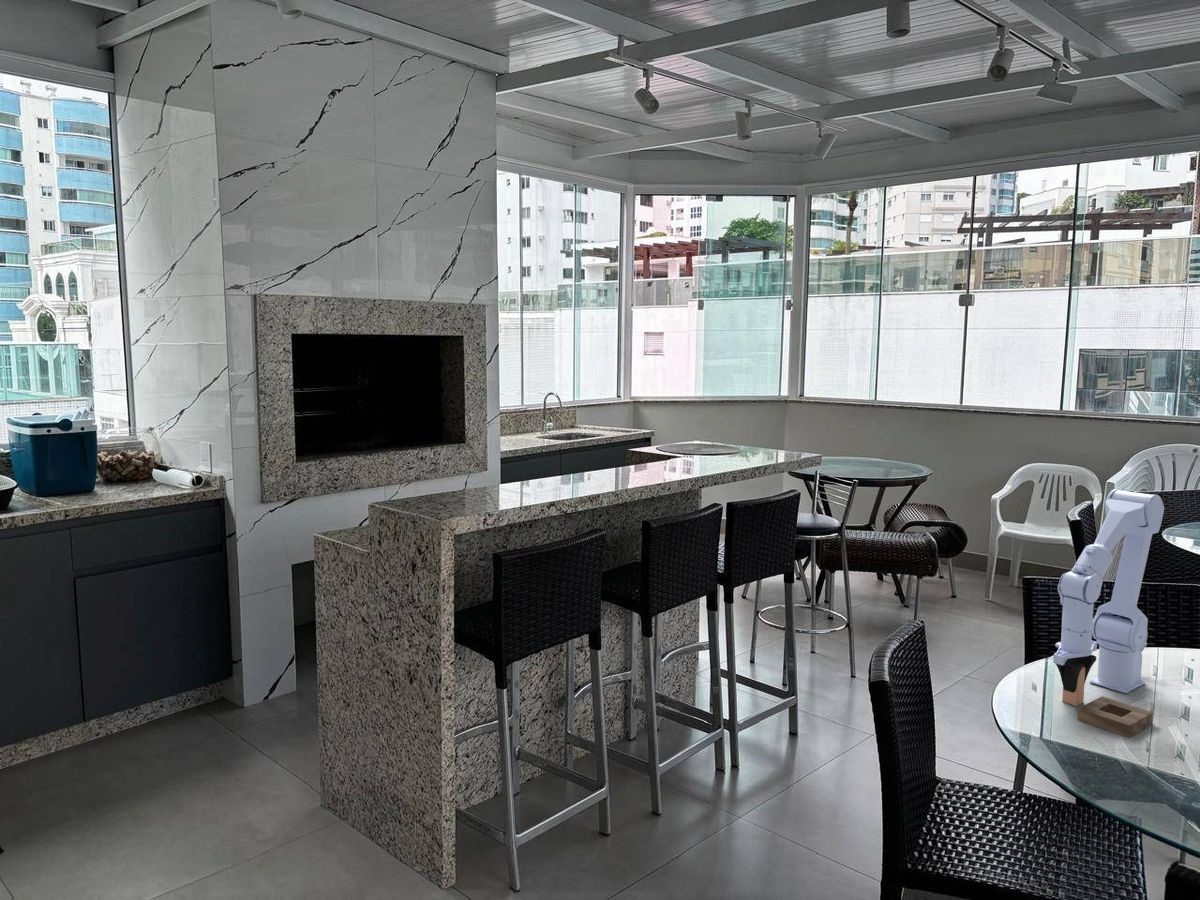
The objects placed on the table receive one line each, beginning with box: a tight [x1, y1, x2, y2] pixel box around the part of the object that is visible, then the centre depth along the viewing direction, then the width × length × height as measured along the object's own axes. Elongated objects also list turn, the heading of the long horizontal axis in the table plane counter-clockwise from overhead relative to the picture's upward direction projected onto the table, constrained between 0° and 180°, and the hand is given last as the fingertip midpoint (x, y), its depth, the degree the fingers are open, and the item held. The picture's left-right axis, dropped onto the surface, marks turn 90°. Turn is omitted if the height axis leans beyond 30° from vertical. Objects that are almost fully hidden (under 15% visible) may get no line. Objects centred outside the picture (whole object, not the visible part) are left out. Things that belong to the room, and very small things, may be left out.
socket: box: [1077, 695, 1154, 738], centre depth 180 cm, size 10×10×2 cm
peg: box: [1061, 667, 1086, 707], centre depth 189 cm, size 3×3×8 cm
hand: (1073, 688), depth 189 cm, fingers closed on peg, 3 cm apart
